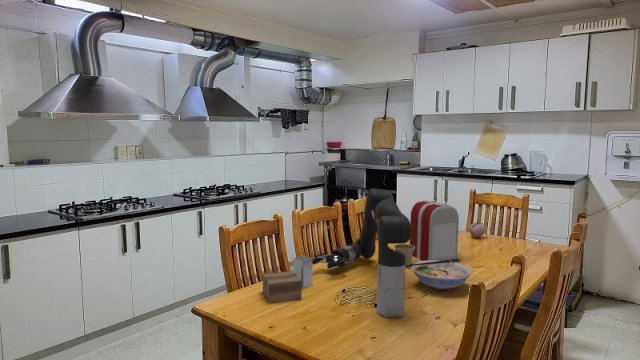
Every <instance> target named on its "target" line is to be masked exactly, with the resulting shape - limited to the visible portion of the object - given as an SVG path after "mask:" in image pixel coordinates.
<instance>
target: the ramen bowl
mask: <svg viewBox="0 0 640 360" xmlns="http://www.w3.org/2000/svg"><path fill="white" fill-rule="evenodd" d="M460 263H461V259H458V258H457V259H451V260H443V261H438V260H429V261H422V260H420V261H417V262H415V263H413V264H412V263H411V265H405V267H407V266H408V267H411V270H412V271H413V273H414V276H415V277H416V278H417V279H418V281H420V282H421V283H423V285H426V286H428V287H431V288H433V289H435V290H441V291H445V290H449V289H454V288H457V287H459V286H461V285H462V284H463V285H464V283H465V282H466V281H467V280H468V279H469V278H470V276H471V273H472V272H471V269H470V268H469V267H468V266H465V265H463V264H460Z"/></svg>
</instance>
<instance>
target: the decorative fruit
mask: <svg viewBox="0 0 640 360" xmlns="http://www.w3.org/2000/svg"><path fill="white" fill-rule="evenodd" d="M468 232H469V234H470V235H471V236H472V237H473V238H476V239H479V238H480V237H482V236H483V235H484V234H485V232H486V227H485V225H484V223H483V222H480V221H479V222H478V220H477V222H474V223H473V222H472V223H471V224H470V225H469V227H468Z"/></svg>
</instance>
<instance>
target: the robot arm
mask: <svg viewBox="0 0 640 360" xmlns="http://www.w3.org/2000/svg"><path fill="white" fill-rule="evenodd" d="M365 197H366V199H365V205H364V212H363V223H362V227H361V230H360V233H359V238H357V239H356V240H355V241H354V242H353V243H351V244H349V245H346V246H341V247H339V248H336V249H333V250H332V252H331V253H329V254H326V253H324V252H323V253H318V254H315V255H314V258H312V266H315V265H316V264H319V263H322V264H324V265H325V264H326V265H327V269H329V270H330V269H332V268H338V269H339V268H343V267H346V266H348V264H350V263H351V262H354V261H355V260H356V261H357V260H358V259H359V258H361V257H363V259H365V260H369V259H371V258H373V256H374V255H375V253H376V248H377V247H378V248H377V249H378V250H377V251H378V254H377V256H378V257H377V284H376V285H377V289H376V290H377V291H376V311H377V313H378V314H379V315H381V316H384V317H385V318H398V317H399V318H402V317H404V314H405V300H406V299H405V295H406V289H405V288H406V266H405V264H406V257H405V255H404V254H402V253H400V252H398V251H395V249H392V248H391V247H390V246H389V244H394V245H397V244H406V243H408V242H410V238H411V234H412V229H411V224H410V220H409V218H408V217H407V216H406V215H405V214H403V212H402V211H401V209H400V208H399V206H398V205H397V204H396V202H395V198H394V196H393V193H392V192H391V191H390V190H385V189H381V188H370V189H368V191H367V194H366V196H365ZM372 211H374V215H375V217H374V215H373V212H372ZM375 218H376V220H377V221H376V220H375ZM376 237H377V239H378V240H377V243H378V244H377V245H378V246H377V247H376Z"/></svg>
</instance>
